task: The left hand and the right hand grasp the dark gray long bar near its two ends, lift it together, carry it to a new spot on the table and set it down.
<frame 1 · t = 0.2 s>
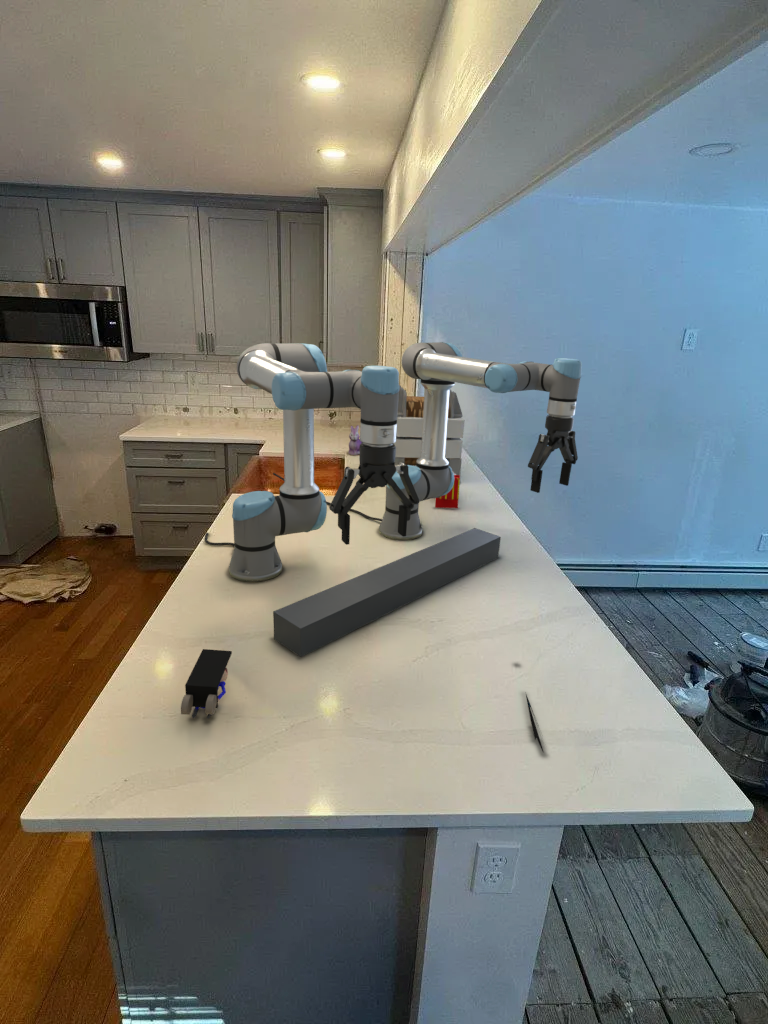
left hand: (374, 538, 124), 27 cm above the counter, tool pointing down, fingers open, 13 cm apart
right hand: (549, 488, 166), 27 cm above the counter, tool pointing down, fingers open, 13 cm apart
grey slatted crate: (419, 473, 275), on the counter
feather: (527, 705, 115), on the counter
figurine: (355, 453, 307), on the counter
dark gray long bar: (403, 592, 159), on the counter
figurine character: (209, 701, 112), on the counter
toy: (441, 497, 240), on the counter
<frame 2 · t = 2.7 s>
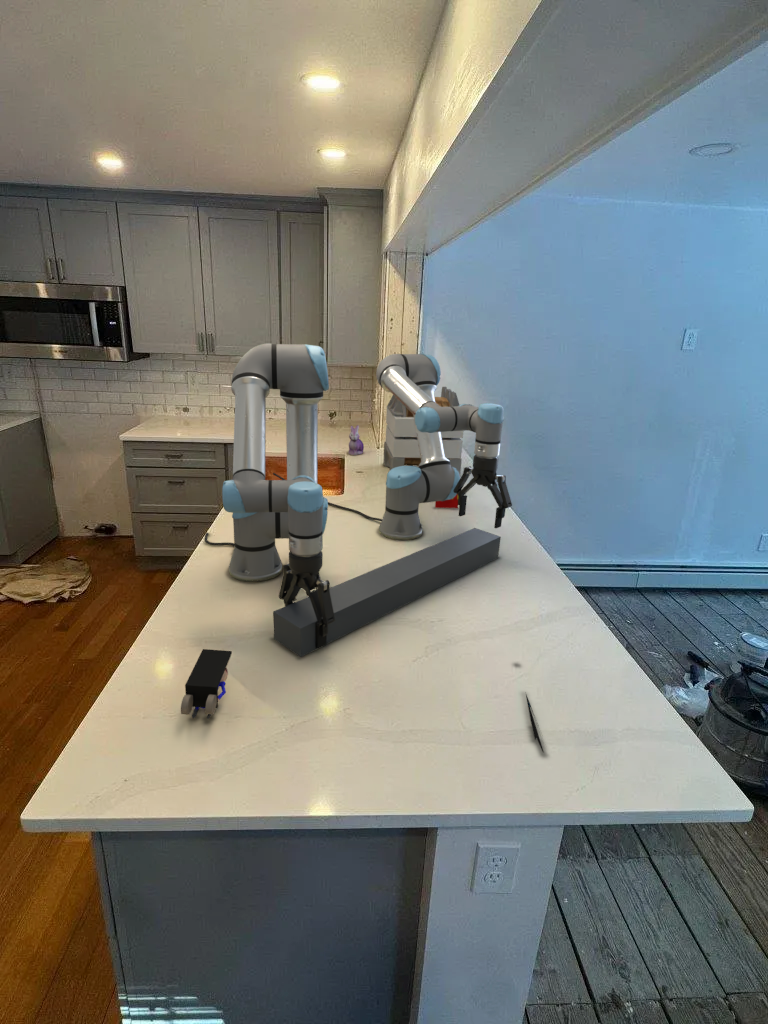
left hand: (305, 636, 135), 1 cm above the counter, tool pointing down, fingers closed on dark gray long bar, 10 cm apart
right hand: (479, 521, 179), 13 cm above the counter, tool pointing down, fingers open, 13 cm apart
dark gray long bar: (403, 592, 159), on the counter, touching left hand
everything else where it was.
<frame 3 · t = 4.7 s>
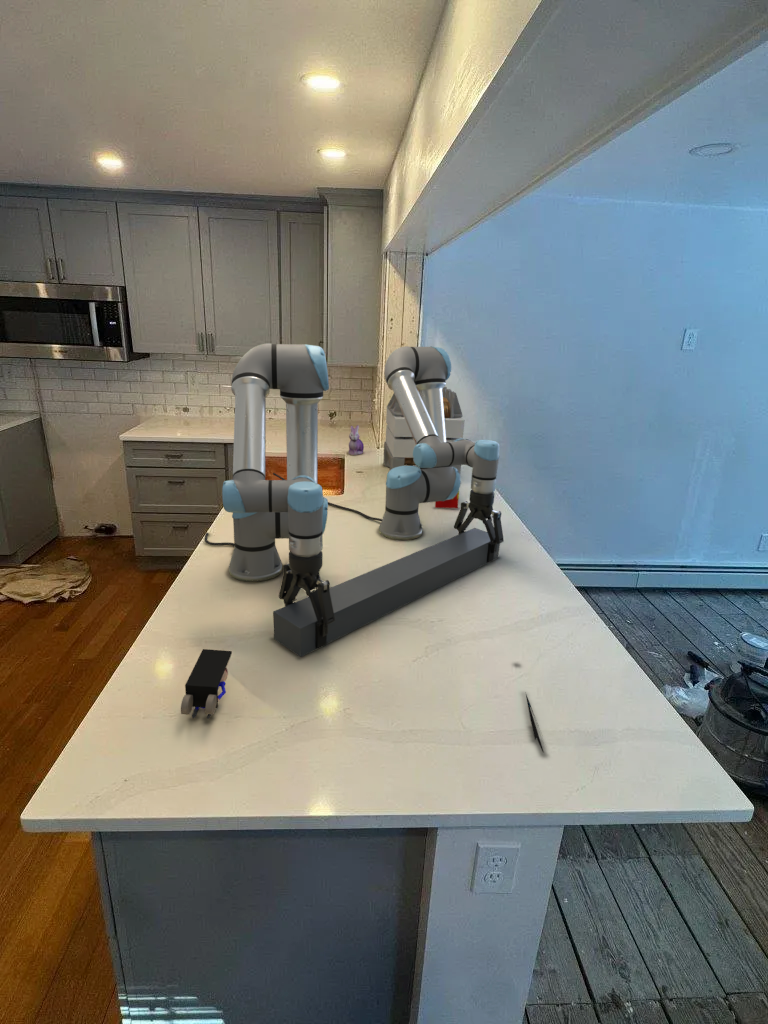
left hand: (305, 636, 135), 1 cm above the counter, tool pointing down, fingers closed on dark gray long bar, 10 cm apart
right hand: (475, 556, 183), 1 cm above the counter, tool pointing down, fingers closed on dark gray long bar, 10 cm apart
dark gray long bar: (403, 592, 159), on the counter, touching right hand, left hand
everything else where it was.
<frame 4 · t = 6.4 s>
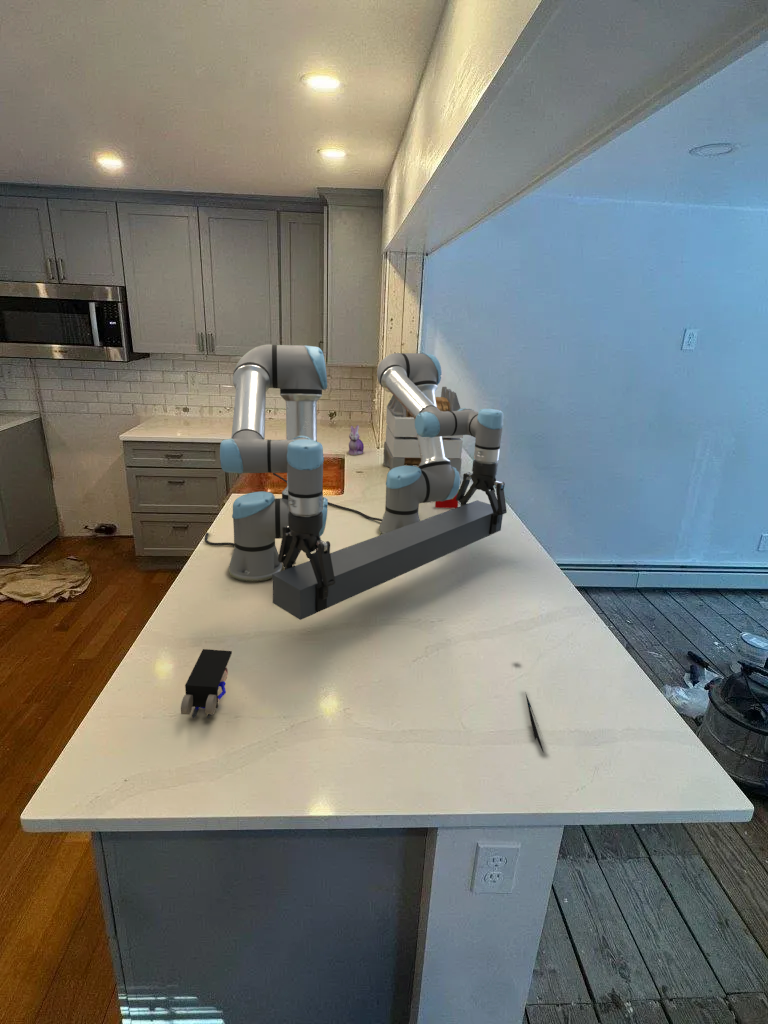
left hand: (305, 600, 132), 10 cm above the counter, tool pointing down, fingers closed on dark gray long bar, 10 cm apart
right hand: (477, 528, 180), 10 cm above the counter, tool pointing down, fingers closed on dark gray long bar, 10 cm apart
dark gray long bar: (405, 560, 156), point 9 cm above the counter, touching right hand, left hand
everything else where it was.
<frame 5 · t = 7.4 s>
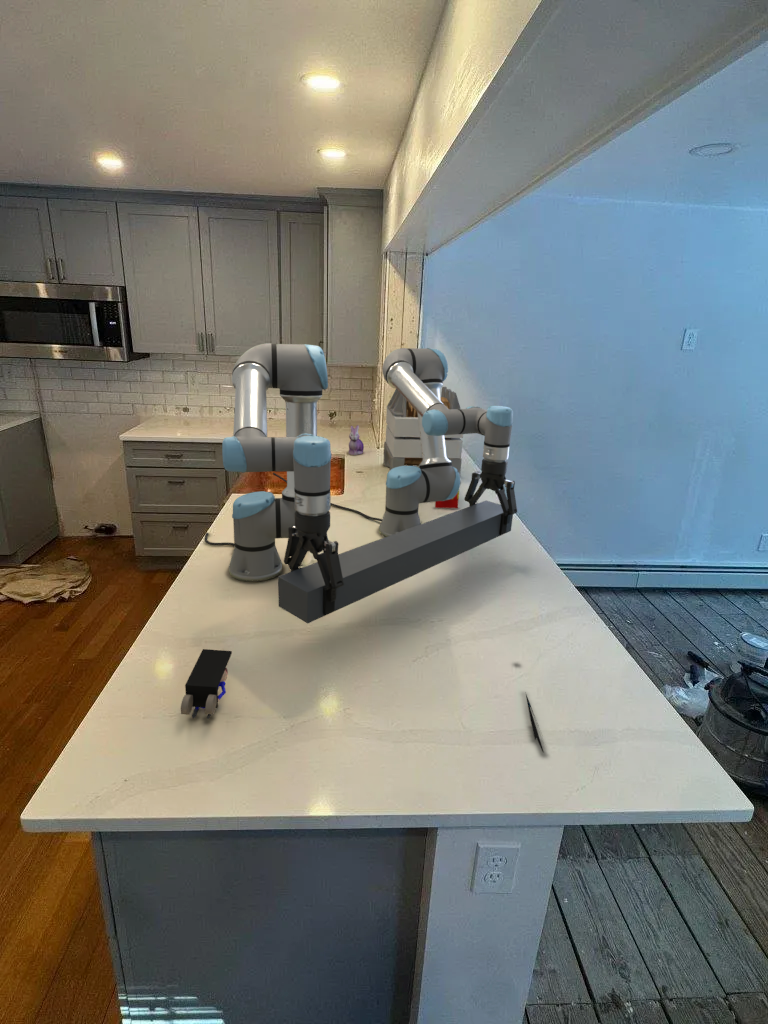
left hand: (312, 603, 127), 12 cm above the counter, tool pointing down, fingers closed on dark gray long bar, 10 cm apart
right hand: (487, 528, 176), 12 cm above the counter, tool pointing down, fingers closed on dark gray long bar, 10 cm apart
dark gray long bar: (414, 562, 152), point 11 cm above the counter, touching right hand, left hand
everything else where it was.
when the left hand's fingers open (2 cm above the counter, at t = 10.2 s): dark gray long bar drops 1 cm, on the counter.
when the right hand's fingers open (2 cm above the counter, at t = 10.2 s): dark gray long bar drops 1 cm, on the counter.
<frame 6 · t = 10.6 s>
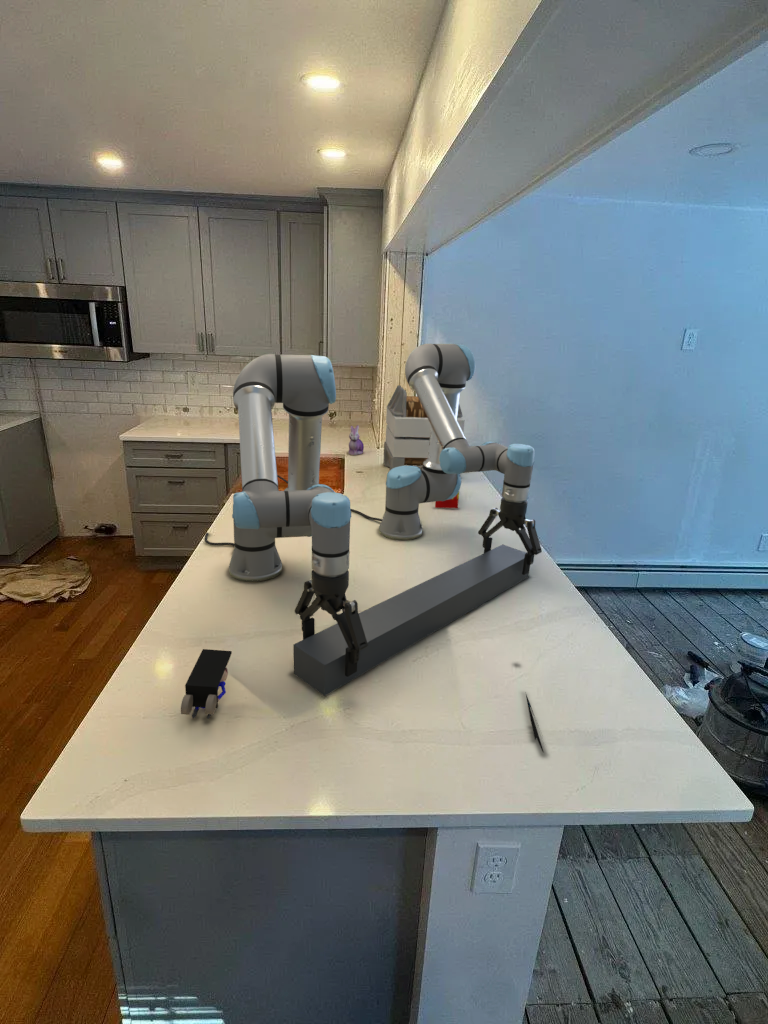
left hand: (329, 659, 121), 4 cm above the counter, tool pointing down, fingers open, 13 cm apart
right hand: (505, 565, 170), 4 cm above the counter, tool pointing down, fingers open, 13 cm apart
dark gray long bar: (431, 617, 147), on the counter
everything else where it was.
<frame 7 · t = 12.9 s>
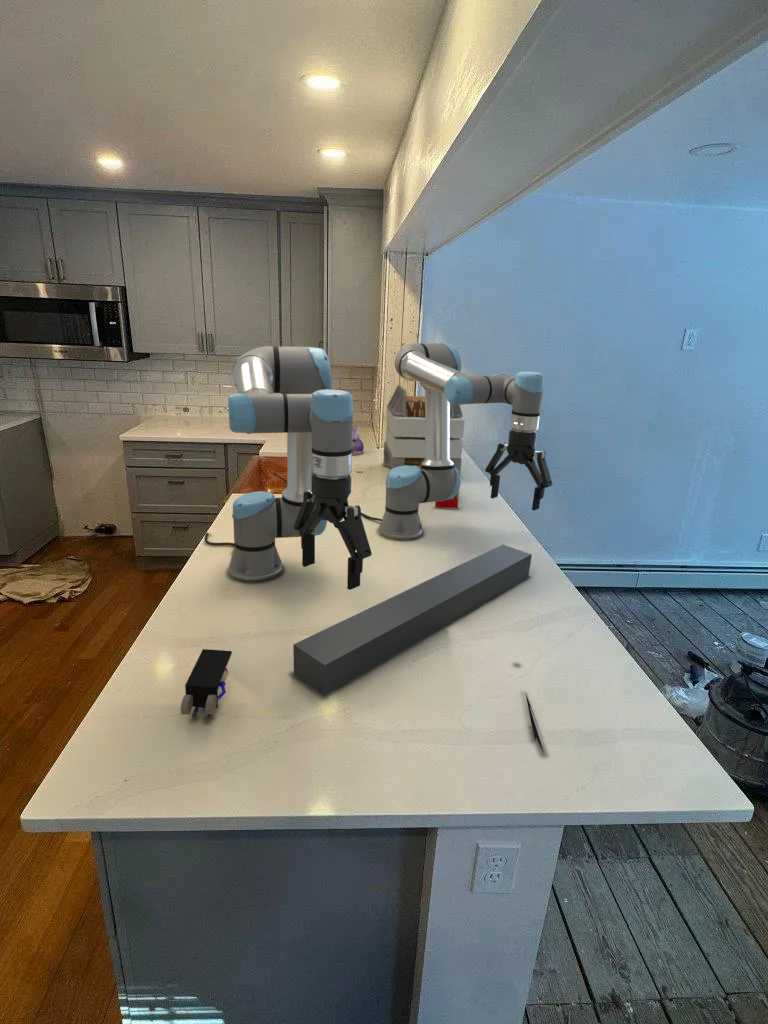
left hand: (330, 575, 114), 24 cm above the counter, tool pointing down, fingers open, 13 cm apart
right hand: (514, 503, 163), 24 cm above the counter, tool pointing down, fingers open, 13 cm apart
nothing on the counter moved.
at the end: dark gray long bar inside the target area (0.3 cm from its centre), on the counter; dark gray long bar tilted 0°; dark gray long bar never tilted more than 2° during the clip; both hands held the dark gray long bar at the same time; the left hand is holding nothing; the right hand is holding nothing; dark gray long bar at rest at the end (0.0 cm/s) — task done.
